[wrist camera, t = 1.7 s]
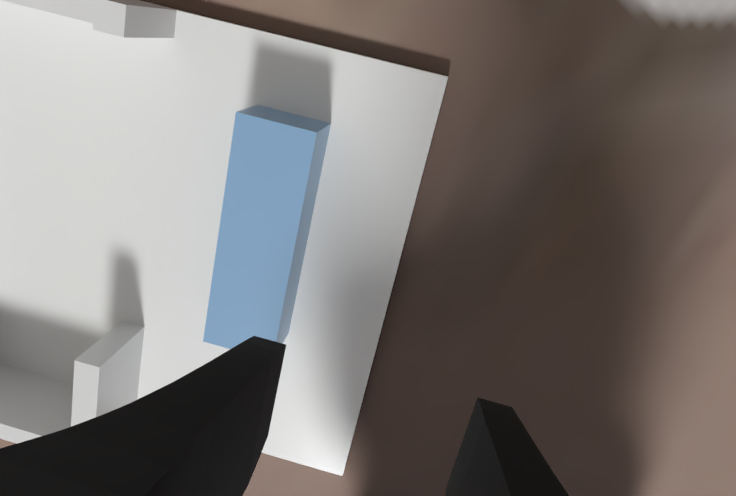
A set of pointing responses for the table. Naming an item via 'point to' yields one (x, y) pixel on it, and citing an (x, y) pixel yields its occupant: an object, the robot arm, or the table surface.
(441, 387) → the table surface
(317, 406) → the white storage tray
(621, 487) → the table surface
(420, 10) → the table surface
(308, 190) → the pale blue rectangular prism
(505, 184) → the table surface
